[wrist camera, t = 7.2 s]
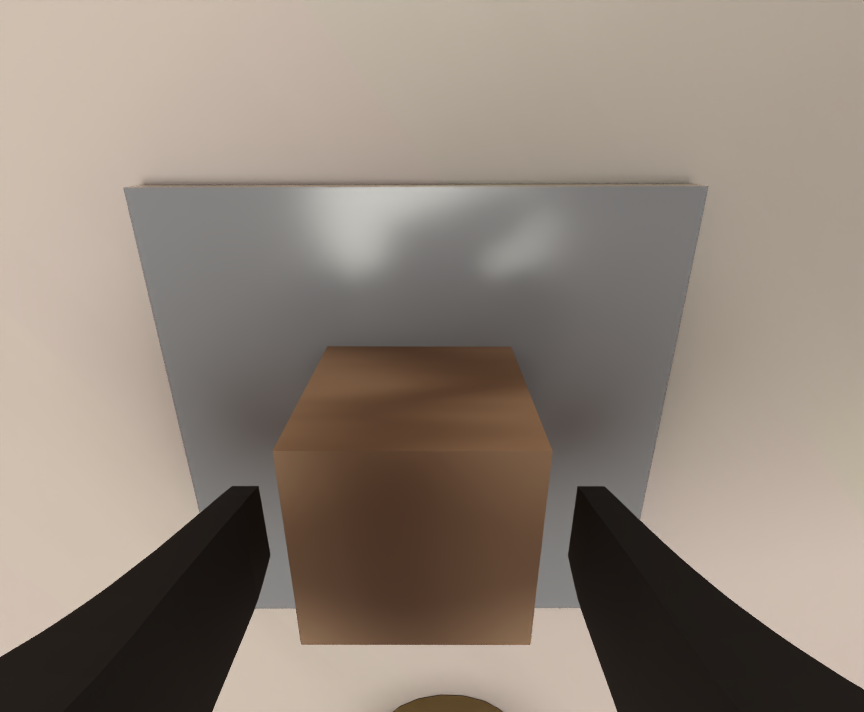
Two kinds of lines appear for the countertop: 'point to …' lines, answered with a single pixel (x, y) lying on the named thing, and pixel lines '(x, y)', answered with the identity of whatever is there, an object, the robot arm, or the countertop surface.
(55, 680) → the robot arm
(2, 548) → the countertop surface
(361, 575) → the walnut cube
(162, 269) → the slate board
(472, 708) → the cork
